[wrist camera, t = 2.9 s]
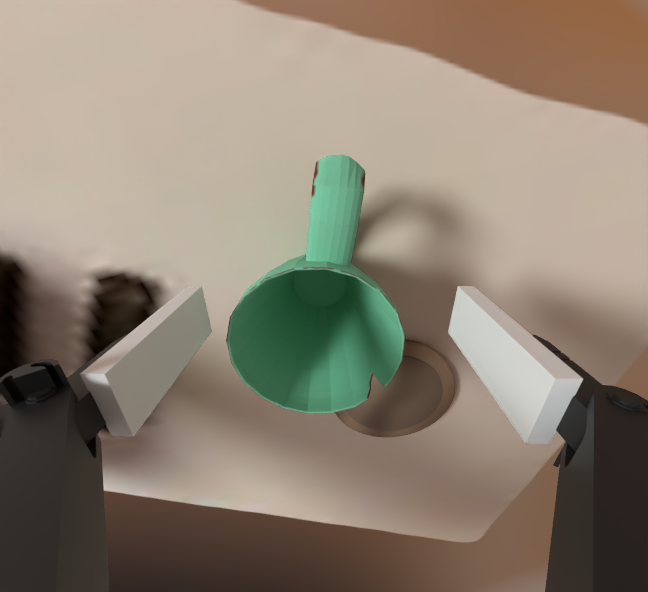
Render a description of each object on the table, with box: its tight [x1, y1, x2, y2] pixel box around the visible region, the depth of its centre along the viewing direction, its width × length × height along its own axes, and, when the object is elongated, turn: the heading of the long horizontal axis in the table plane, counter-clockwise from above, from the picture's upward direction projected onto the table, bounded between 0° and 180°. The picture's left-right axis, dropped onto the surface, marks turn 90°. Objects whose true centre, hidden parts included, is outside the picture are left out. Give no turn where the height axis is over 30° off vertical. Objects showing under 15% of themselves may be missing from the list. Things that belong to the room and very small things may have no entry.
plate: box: [335, 340, 455, 437], centre depth 29 cm, size 13×13×1 cm
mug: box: [226, 155, 405, 413], centre depth 18 cm, size 15×10×10 cm
